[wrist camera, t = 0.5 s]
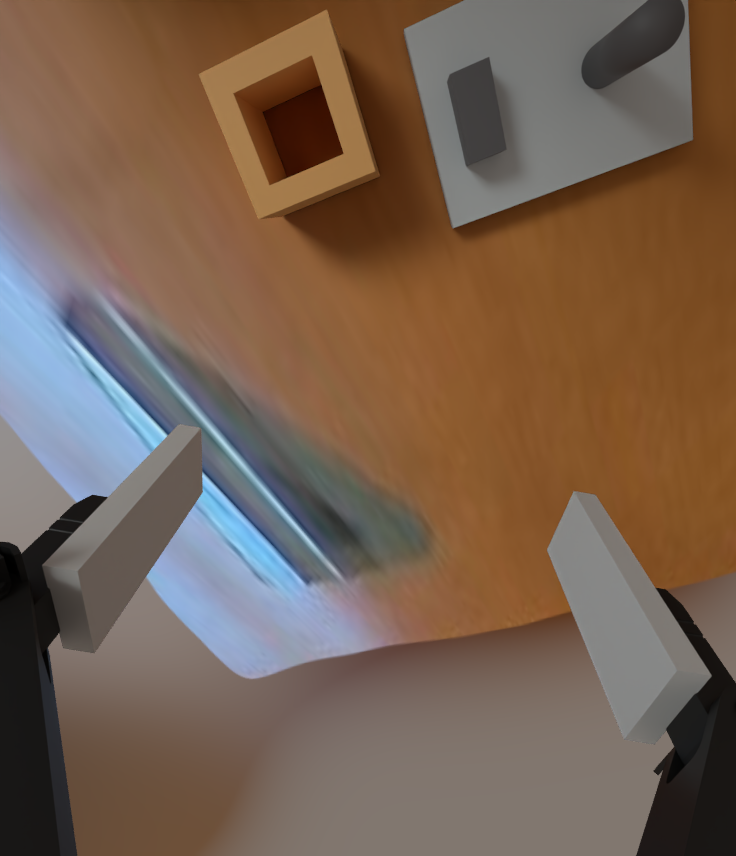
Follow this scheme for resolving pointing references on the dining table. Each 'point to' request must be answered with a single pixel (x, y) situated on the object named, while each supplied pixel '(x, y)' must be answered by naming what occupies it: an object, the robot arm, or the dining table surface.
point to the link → (274, 84)
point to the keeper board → (547, 93)
